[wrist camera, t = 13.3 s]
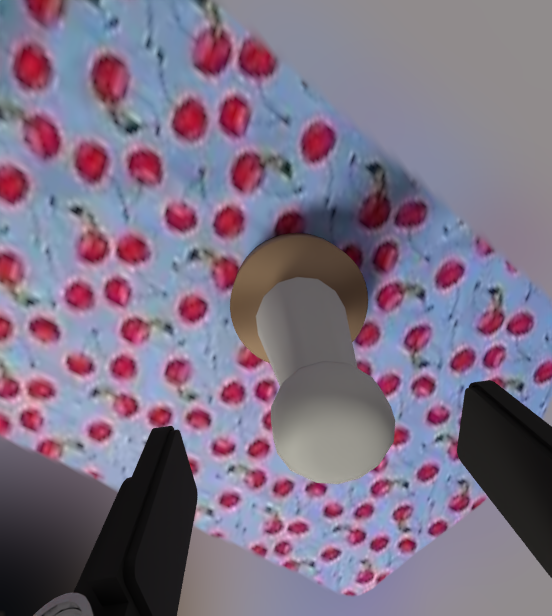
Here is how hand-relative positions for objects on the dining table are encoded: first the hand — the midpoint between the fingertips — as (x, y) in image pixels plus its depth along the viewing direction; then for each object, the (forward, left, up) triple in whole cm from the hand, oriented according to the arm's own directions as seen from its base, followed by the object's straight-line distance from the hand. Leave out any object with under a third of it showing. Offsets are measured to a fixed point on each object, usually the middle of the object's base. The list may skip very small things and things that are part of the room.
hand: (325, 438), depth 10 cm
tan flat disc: (0, -1, -16) cm, 16 cm away
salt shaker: (0, 0, -13) cm, 13 cm away
